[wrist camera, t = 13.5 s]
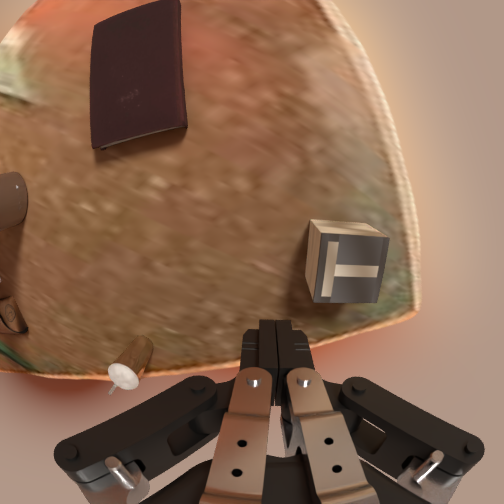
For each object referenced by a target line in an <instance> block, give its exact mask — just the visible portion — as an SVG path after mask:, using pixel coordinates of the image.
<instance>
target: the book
mask: <svg viewBox="0 0 504 504" xmlns="http://www.w3.org/2000/svg"><path fill="white" fill-rule="evenodd" d="M90 127H91V142H92V148H93V149H95V148H98V147H101V150H105V149H106V148H107V147H108V146H111V145H114V144H118V143H121V142H124V141H128V140H131V139H134V138H138V137H142V136H145V135H149V134H153V133H157V132H161V131H166V130H170V129H174V128H179V127H186V128H187V127H188V122H187V112H186V103H185V90H184V82H183V69H182V45H181V3H180V1H179V0H159V1H155V2H151V3H148V4H145V5H142V6H139V7H136V8H133V9H130V10H127V11H125V12H122V13H119V14H117V15H114V16H112V17H110V18H108V19H106V20H103V21H101V22H99V23H97V24H96V25H94V30H93V37H92V47H91V64H90Z"/></svg>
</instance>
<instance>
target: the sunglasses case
mask: <svg viewBox="0 0 504 504" xmlns="http://www.w3.org/2000/svg"><path fill="white" fill-rule="evenodd" d="M27 330H28V327H27V324H26V322H25V320H24V318H23V316H22V314H21V312H20V310H19V308H18V305H17V303H16V301H15V299H14V296H10V297H8V298H5V299H0V333H6V334H24V333H26V332H27Z"/></svg>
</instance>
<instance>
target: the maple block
mask: <svg viewBox="0 0 504 504" xmlns="http://www.w3.org/2000/svg"><path fill="white" fill-rule="evenodd" d="M389 239H390V238H389V237H387V236H385V235H384V234H382V233H381V232H379V231H377V230H376V229H374V228H373V227H371V226H369V225H368V224H366V223H354V222H341V221H327V220H312V219H310V228H309V240H308V250H307V260H306V270H305V278H306V281H307V284H308V287H309V290H310V293H311V296H312V299H313V302H315V303H377V300H378V296H379V292H380V287H381V283H382V278H383V273H384V268H385V263H386V257H387V251H388V246H389Z"/></svg>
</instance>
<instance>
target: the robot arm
mask: <svg viewBox="0 0 504 504" xmlns="http://www.w3.org/2000/svg"><path fill="white" fill-rule="evenodd" d="M26 210H27V190H26V186H25V183H24V180H23V178H22V177H21V175H20V174H19V173H17V172H9V173H3V174H0V231H1V230H4V229H6V228H9V227H12V226H15V225H17V224H19V223H21V222H22V221H23V219H24V217H25V214H26ZM274 399H275V406H281V417H280V422H281V429H282V435H283V441H284V447H285V458H280V457H275V456H270V455H266V452H267V442H268V430H269V418H270V410H271V406H274ZM363 418H364V419H366V420H367V421H369V422H370V423H372V424H374V425H375V426H377V427H378V428H380V429H382V430H383V431H384V432H385V433H384V432H382V431H381V430H379V429H377V428H376V427H374V426H372V425H371V424H369V423H368V422H366V421H365V420H363ZM219 432H220V433H219ZM218 434H219V437H218V441H217V445H216V449H215V453H214V457H213V459H211V460H208V461H204V462H202V463H200V464H198V465H196V466H194V467H192V468H191V469H189V470H188V471H187V472H185V473H184V474H183V475H181V476H180V477H178V478H177V479H176V480H174V481H173V482H171V483H170V484H169V485H167V486H165V487H164V488H162V489H161V490H159V491H158V492H156V493H155V494H153V495H151V496H150V497H149V498H147V499H145V500H143V501H142V502H140V500H142V499H143V498H144V497H145V496H146V495H147V494H148V492H149V489H150V485H149V481H150V480H151V479H153V478H155V477H157V476H158V475H160V474H162V473H163V472H165V471H166V470H168V469H170V468H171V467H173V466H174V465H176V464H177V463H179V462H180V461H182V460H184V459H185V458H187V457H188V456H189V455H191V454H192V453H194V452H195V451H197V450H198V449H200V448H201V447H203V446H204V445H205V444H207V443H208V442H209V441H211V440H212V439H213V438H215V437H216V436H217V435H218ZM484 450H485V449H484V444H483V443H482V441H481V440H480V439H479V438H478V437H476V436H474V435H472V434H470V433H468V432H466V431H464V430H461V429H459V428H457V427H455V426H453V425H451V424H449V423H447V422H445V421H443V420H441V419H439V418H437V417H435V416H434V415H432V414H430V413H428V412H426V411H424V410H422V409H420V408H418V407H416V406H415V405H412V404H411V403H409V402H407V401H405V400H403V399H402V398H400V397H398V396H396V395H394V394H392V393H391V392H389V391H387V390H385V389H384V388H382V387H380V386H378V385H376V384H375V383H373V382H371V381H370V380H368V379H366V378H363V377H351V378H348V379H346V380H345V381H344V382H343V384H336V383H331V382H327V381H325V380H323V379H322V378H321V376H320V374H319V373H318V372H317V371H315V368H314V364H313V360H312V355H311V351H310V347H309V344H308V339H307V336H306V335H305V334H304V333H303V332H302V331H301V330H292V325H291V320H261V319H260V320H259V330H258V329H248V330H247V331H246V332H245V334H244V335H243V342H242V352H241V361H240V370H239V373H238V374H237V376H236V377H235V378H234V379H232V380H230V381H227V382H223V383H218V384H215V382H214V381H213V380H212V379H210V378H208V377H205V376H192V377H188V378H186V379H184V380H183V381H181V382H179V383H177V384H176V385H174V386H172V387H171V388H169V389H167V390H165V391H164V392H161V393H160V394H158V395H156V396H154V397H152V398H150V399H149V400H147V401H145V402H143V403H141V404H139V405H137V406H135V407H133V408H131V409H129V410H127V411H125V412H124V413H121V414H119V415H117V416H115V417H113V418H111V419H109V420H107V421H105V422H103V423H101V424H99V425H97V426H94V427H92V428H90V429H88V430H86V431H83V432H81V433H79V434H76V435H74V436H72V437H69V438H67V439H65V440H62V441H61V442H59V443H58V444H57V446H56V447H55V449H54V459H55V461H56V463H57V464H58V466H60V468H62V470H63V471H64V472H65V473H67V475H68V476H69V477H70V478H71V479H72V480H73V481H74V482H75V483H76V484H77V485H78V486H79V488H80V489H81V491H82V492H83V494H84V496H85V497H86V499H87V500H88V502H89V503H90V504H448V502H449V500H450V498H451V497H452V495H453V493H454V492H455V490H456V488H457V486H458V484H459V482H460V481H461V478H462V477H463V476H464V475H465V474H466V473H467V472H468V471H469V470H470V469H471V468H472V467H473V466H475V464H477V463H478V462H479V461H480V460H481V458H482V457H483V455H484ZM358 455H359V456H360V457H362V458H363V459H365V460H366V461H368V462H369V463H371V464H373V465H374V466H376V467H377V468H379V469H380V470H382V471H384V472H385V473H387V474H389V475H390V476H392V477H394V478H395V479H397V483H396V482H395V481H393V480H392V479H390V478H389V477H387V476H385V475H384V474H383V473H381V472H380V471H378V470H377V469H375V468H374V467H372V466H371V465H369V464H368V463H366V462H364V461H362V460H360V459H359V458H358ZM139 502H140V503H139Z"/></svg>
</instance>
